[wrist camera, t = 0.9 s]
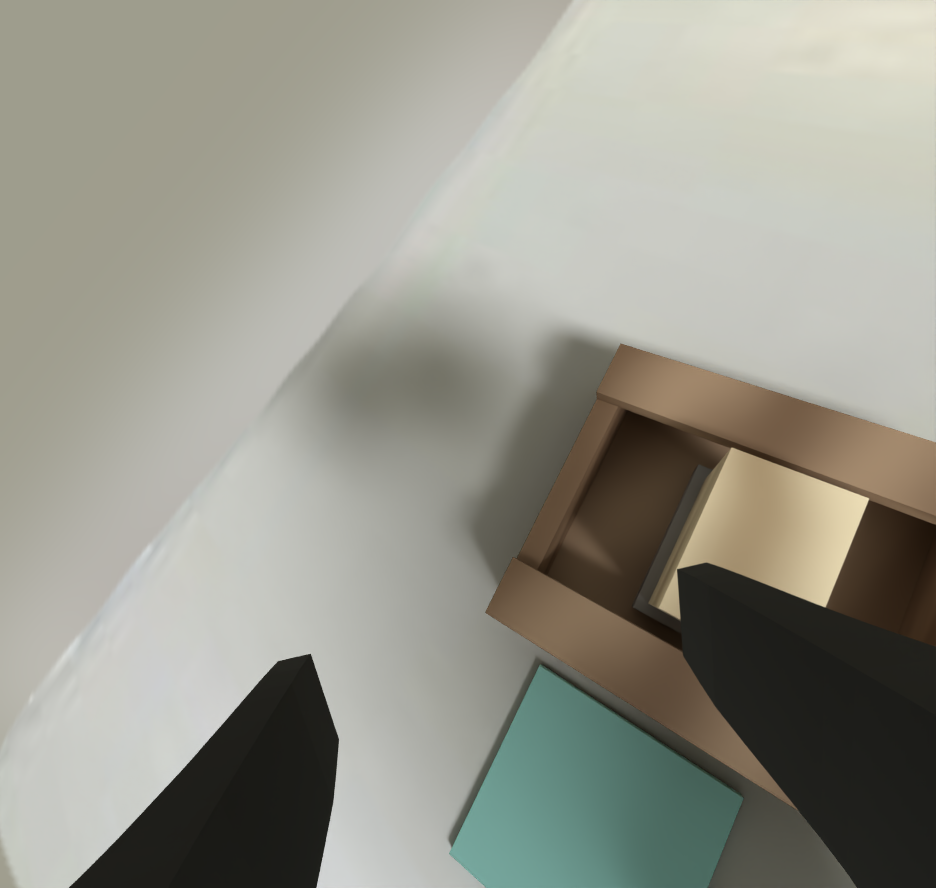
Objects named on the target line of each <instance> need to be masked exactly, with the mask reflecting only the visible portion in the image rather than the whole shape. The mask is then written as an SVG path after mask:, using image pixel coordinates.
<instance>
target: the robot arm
mask: <svg viewBox="0 0 936 888" xmlns="http://www.w3.org/2000/svg"><path fill="white" fill-rule="evenodd" d="M677 577H678V591H679V605H680V619H681V633H682V648H683V657H684V658H685V660H686V661H687V663H688V665H689V666H690V668H691V670H692V671H693V673H694V674H695V676H696V678H697V679H698V681H699V683H700V684H701V686H702V687H703V689H704V690H705V692H706V693H707V695H708V696H709V698H710V699H711V701H712V702H713V704H714V706H715V707H716V708H717V710H718V711H719V712H720V713H721V715H722V716H723V717H724V719H725V720H726V721H727V722H728V724H729V725H730V726H731V727H732V729H733V730H734V731H735V732H736V734H737V735H738V736H739V737H740V739H741V740H742V741H743V742H744V744H745V745H746V746H747V747H748V749H749V750H750V751H751V752H752V754H753V755H754V756H755V757H756V759H757V760H758V761H759V762H760V764H761V765H762V766H763V767H764V769H765V770H766V771H767V772H768V773H769V775H770V776H771V777H772V778H773V780H774V781H775V782H776V783H777V785H778V786H779V787H780V788H781V790H782V791H783V792H784V793H785V795H786V796H787V797H788V798H789V799H790V801H791V802H792V803H793V804H794V806H795V807H796V808H797V809H798V811H799V812H800V813H801V814H802V816H803V817H804V818H805V819H806V821H807V822H808V823H809V824H810V825H811V827H812V828H813V829H814V830H815V832H816V833H817V834H818V835H819V837H820V838H821V839H822V841H823V842H824V843H825V845H826V846H827V847H828V848H829V850H830V851H831V852H832V854H833V855H834V856H835V858H836V859H837V860H838V862H839V863H840V864H841V866H842V867H843V868H844V870H845V871H846V872H847V874H848V875H849V876H850V878H851V879H852V881H853V882H854V884H855V885H856V887H857V888H936V646H933V645H930V644H927V643H924V642H921V641H918V640H915V639H912V638H909V637H906V636H903V635H900V634H897V633H894V632H892V631H889V630H886V629H883V628H880V627H877V626H874V625H871V624H869V623H866V622H863V621H860V620H858V619H855V618H852V617H849V616H847V615H844V614H841V613H839V612H836V611H833V610H831V609H828V608H825V607H823V606H820V605H818V604H815V603H812V602H810V601H807V600H805V599H802V598H800V597H797V596H794V595H792V594H789V593H787V592H784V591H782V590H779V589H777V588H774V587H772V586H769V585H767V584H764V583H761V582H759V581H756V580H754V579H751V578H749V577H746V576H744V575H741V574H738V573H736V572H733V571H730V570H728V569H725V568H722V567H719V566H716V565H713V564H710V563H707V562H706V563H702V564H697V565H693V566H689V567H684V568H680V569H677ZM338 744H339V738H338V735H337V732H336V729H335V726H334V723H333V720H332V717H331V714H330V711H329V708H328V705H327V702H326V699H325V696H324V693H323V690H322V687H321V684H320V681H319V678H318V675H317V672H316V669H315V666H314V663H313V660H312V656H311V654H308V655H303V656H299V657H295V658H290V659H286V660H282V661H278V662H277V663H276V664H275V665H274V666H273V667H272V668H271V669H270V670H269V672H268V673H267V674H266V675H265V676H264V677H263V678H262V679H261V680H260V682H259V683H258V684H257V685H256V686H255V687H254V689H253V690H252V691H251V692H250V693H249V694H248V695H247V697H246V698H245V699H244V700H243V701H242V702H241V704H240V705H239V706H238V707H237V708H236V709H235V711H234V712H233V713H232V714H231V715H230V716H229V717H228V719H227V720H226V721H225V722H224V723H223V724H222V726H221V727H220V728H219V729H218V730H217V731H216V732H215V733H214V735H213V736H212V737H211V738H210V739H209V740H208V741H207V743H206V744H205V745H204V746H203V747H202V748H201V749H200V751H199V752H198V753H197V754H196V755H195V756H194V757H193V759H192V760H191V761H190V762H189V763H188V764H187V765H186V766H185V768H184V769H183V770H182V771H181V772H180V773H179V774H178V775H177V776H176V777H175V778H174V779H173V780H172V782H171V783H170V784H169V785H168V786H167V787H166V788H165V789H164V790H163V791H162V792H161V793H160V794H159V795H158V797H157V798H156V799H155V800H154V801H153V802H152V803H151V804H150V805H149V806H148V807H147V808H146V809H145V810H144V812H143V813H142V814H141V815H140V816H139V817H138V818H137V819H136V820H135V821H134V822H133V823H132V824H131V825H130V827H129V828H128V829H127V830H126V831H125V832H124V833H123V834H122V835H121V836H120V837H119V838H118V839H117V840H116V841H115V842H114V843H113V844H112V845H111V846H110V847H109V848H108V849H107V851H106V852H105V853H104V854H103V855H102V856H101V857H100V858H99V859H98V860H97V861H96V862H95V863H94V864H93V865H92V866H91V867H90V868H89V869H88V870H87V871H86V872H85V873H84V874H83V875H82V876H81V877H80V878H79V879H78V880H77V881H75V882H74V883H73V884H72V885H71V886H70V887H69V888H316V887H317V882H318V877H319V872H320V867H321V862H322V857H323V852H324V847H325V842H326V837H327V832H328V827H329V822H330V816H331V811H332V806H333V799H334V789H335V780H336V769H337V757H338Z"/></svg>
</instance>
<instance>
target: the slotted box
mask: <svg viewBox="0 0 936 888" xmlns="http://www.w3.org/2000/svg"><path fill="white" fill-rule="evenodd" d="M596 393H597V400H596V402H595V404H594V406H593V408H592V410H591V412H590V414H589V416H588V418H587V420H586V422H585V424H584V426H583V428H582V430H581V432H580V434H579V436H578V438H577V440H576V442H575V444H574V446H573V447H572V449H571V451H570V453H569V455H568V457H567V459H566V461H565V463H564V465H563V467H562V469H561V471H560V473H559V475H558V477H557V479H556V481H555V483H554V485H553V487H552V489H551V491H550V493H549V495H548V497H547V499H546V501H545V503H544V505H543V507H542V509H541V511H540V513H539V515H538V517H537V519H536V521H535V523H534V525H533V527H532V529H531V531H530V533H529V535H528V537H527V539H526V541H525V543H524V545H523V547H522V549H521V551H520V553H519V555H518V557H517V558H514V557H513V558H512V560H511V562H510V564H509V566H508V568H507V570H506V572H505V574H504V576H503V578H502V580H501V582H500V584H499V586H498V588H497V590H496V592H495V594H494V596H493V598H492V600H491V602H490V604H489V606H488V608H487V610H486V612H485V613H487V614H488V615H490V616H491V617H493V618H494V619H496V620H498V621H499V622H501V623H502V624H504V625H506V626H507V627H509V628H510V629H512V630H513V631H515V632H517V633H518V634H520V635H521V636H523V637H524V638H526V639H528V640H529V641H531V642H532V643H534V644H536V645H537V646H539V647H540V648H542V649H543V650H545V651H547V652H548V653H550V654H551V655H553V656H554V657H556V658H558V659H559V660H561V661H562V662H564V663H566V664H567V665H569V666H570V667H572V668H573V669H575V670H577V671H578V672H580V673H581V674H583V675H584V676H586V677H588V678H589V679H591V680H592V681H594V682H596V683H597V684H599V685H600V686H602V687H603V688H605V689H607V690H608V691H610V692H611V693H613V694H614V695H616V696H618V697H619V698H621V699H622V700H624V701H626V702H627V703H629V704H630V705H632V706H633V707H635V708H637V709H638V710H640V711H641V712H643V713H644V714H646V715H648V716H649V717H651V718H652V719H654V720H656V721H657V722H659V723H660V724H662V725H663V726H665V727H667V728H668V729H670V730H671V731H673V732H674V733H676V734H678V735H679V736H681V737H682V738H684V739H686V740H687V741H689V742H690V743H692V744H693V745H695V746H697V747H698V748H700V749H701V750H703V751H704V752H706V753H708V754H709V755H711V756H712V757H714V758H716V759H717V760H719V761H720V762H722V763H723V764H725V765H727V766H728V767H730V768H731V769H733V770H735V771H736V772H738V773H739V774H741V775H742V776H744V777H746V778H747V779H749V780H750V781H752V782H753V783H755V784H757V785H758V786H760V787H761V788H763V789H765V790H766V791H768V792H769V793H771V794H772V795H774V796H776V797H777V798H779V799H780V800H782V801H783V802H785V803H787V804H788V805H790V806H791V807H793V808H795V809H796V810H798V809H797V808H796V807H795V806H794V804H793V803H792V802H791V801H790V799H789V798H788V797H787V796H786V795H785V793H784V792H783V791H782V790H781V788H780V787H779V786H778V785H777V783H776V782H775V781H774V780H773V778H772V777H771V776H770V775H769V773H768V772H767V771H766V770H765V769H764V767H763V766H762V765H761V764H760V762H759V761H758V760H757V759H756V757H755V756H754V755H753V754H752V752H751V751H750V750H749V749H748V747H747V746H746V745H745V744H744V742H743V741H742V740H741V739H740V737H739V736H738V735H737V734H736V732H735V731H734V730H733V729H732V727H731V726H730V725H729V724H728V722H727V721H726V720H725V719H724V717H723V716H722V715H721V713H720V712H719V711H718V710H717V708H716V707H715V706H714V704H713V702H712V701H711V699H710V698H709V696H708V695H707V693H706V692H705V690H704V689H703V687H702V686H701V684H700V683H699V681H698V679H697V678H696V676H695V674H694V673H693V671H692V670H691V668H690V666H689V665H688V663H687V661H686V660H685V658H684V657H683V648H682V633H681V621H680V620H678V619H676V618H674V617H673V616H671V615H669V614H667V613H665V612H663V611H661V610H659V609H658V608H656V607H654V606H652V605H650V604H648V603H649V601H650V598H651V596H652V594H653V592H654V590H655V588H656V585H657V583H658V581H659V579H660V577H661V574H662V572H663V570H664V568H665V566H666V563H667V561H668V559H669V557H670V555H671V553H672V550H673V548H674V546H675V544H676V542H677V539H678V537H679V535H680V533H681V531H682V528H683V526H684V524H685V522H686V520H687V518H688V515H689V513H690V511H691V509H692V507H693V504H694V502H695V500H696V498H697V496H698V493H699V491H700V489H701V487H702V485H703V483H704V480H705V479H706V478H707V476H708V475H709V474H710V473H711V472H712V470H713V469H714V468H715V467H716V466H717V464H718V463H719V462H720V461H721V460H722V458H723V457H724V456H725V455H726V454H727V452H728V451H729V450H730V449H731V448H735V449H737V450H740V451H743V452H745V453H748V454H751V455H753V456H756V457H759V458H762V459H764V460H767V461H770V462H772V463H775V464H778V465H780V466H783V467H786V468H788V469H791V470H794V471H797V472H799V473H802V474H805V475H807V476H810V477H813V478H815V479H818V480H821V481H824V482H826V483H829V484H832V485H834V486H837V487H840V488H842V489H845V490H848V491H850V492H853V493H856V494H859V495H861V496H864V497H867V498H869V500H868V503H867V505H866V508H865V510H864V513H863V515H862V518H861V520H860V523H859V525H858V528H857V530H856V533H855V535H854V538H853V540H852V543H851V545H850V548H849V550H848V553H847V555H846V558H845V560H844V563H843V565H842V568H841V570H840V573H839V575H838V577H837V580H836V582H835V585H834V587H833V590H832V592H831V595H830V597H829V600H828V602H827V605H826V607H825V608H828V609H831V610H833V611H836V612H839V613H841V614H844V615H847V616H849V617H852V618H855V619H858V620H860V621H863V622H866V623H869V624H871V625H874V626H877V627H880V628H883V629H886V630H889V631H892V632H894V633H897V634H900V635H903V636H906V637H909V638H912V639H915V640H918V641H921V642H924V643H927V644H930V645H933V646H936V443H935V442H932V441H929V440H926V439H923V438H920V437H916V436H913V435H910V434H907V433H904V432H900V431H897V430H894V429H891V428H888V427H885V426H881V425H878V424H875V423H872V422H869V421H865V420H862V419H859V418H856V417H853V416H850V415H846V414H843V413H840V412H837V411H834V410H830V409H827V408H824V407H821V406H818V405H815V404H811V403H808V402H805V401H802V400H799V399H795V398H792V397H789V396H786V395H783V394H780V393H776V392H773V391H770V390H767V389H764V388H760V387H757V386H754V385H751V384H748V383H745V382H741V381H738V380H735V379H732V378H729V377H725V376H722V375H719V374H716V373H713V372H710V371H706V370H703V369H700V368H697V367H694V366H690V365H687V364H684V363H681V362H678V361H675V360H671V359H668V358H665V357H662V356H659V355H655V354H652V353H649V352H646V351H643V350H640V349H636V348H633V347H630V346H627V345H624V344H620V346H619V348H618V350H617V352H616V354H615V356H614V358H613V360H612V362H611V364H610V366H609V368H608V370H607V372H606V374H605V376H604V378H603V380H602V382H601V384H600V386H599V388H598V390H597V392H596Z"/></svg>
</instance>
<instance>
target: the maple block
mask: <svg viewBox="0 0 936 888" xmlns="http://www.w3.org/2000/svg"><path fill="white" fill-rule="evenodd" d="M868 500H869V498H867V497H864V496H861V495H859V494H856V493H853V492H850V491H848V490H845V489H842V488H840V487H837V486H834V485H832V484H829V483H826V482H824V481H821V480H818V479H815V478H813V477H810V476H807V475H805V474H802V473H799V472H797V471H794V470H791V469H788V468H786V467H783V466H780V465H778V464H775V463H772V462H770V461H767V460H764V459H762V458H759V457H756V456H753V455H751V454H748V453H745V452H743V451H740V450H737V449H735V448H731V449H730V450H729V451H728V452H727V454H726V455H725V456H724V457H723V458H722V460H721V461H720V462H719V463H718V464H717V466H716V467H715V468H714V469H713V470H712V472H711V473H710V474H709V475H708V476H707V478H706V479H705V480H704V483H703V485H702V487H701V489H700V491H699V493H698V496H697V498H696V500H695V502H694V504H693V507H692V509H691V511H690V513H689V515H688V518H687V520H686V522H685V524H684V526H683V528H682V531H681V533H680V535H679V537H678V539H677V542H676V544H675V546H674V548H673V550H672V553H671V555H670V557H669V559H668V561H667V563H666V566H665V568H664V570H663V572H662V574H661V577H660V579H659V581H658V583H657V585H656V588H655V590H654V592H653V594H652V596H651V598H650V601H649V603H648V604H650V605H652V606H654V607H656V608H658V609H659V610H661V611H663V612H665V613H667V614H669V615H671V616H673V617H674V618H676V619H678V620H680V621H681V619H680V605H679V591H678V577H677V569H680V568H684V567H689V566H693V565H697V564H702V563H706V562H707V563H710V564H713V565H716V566H719V567H722V568H725V569H728V570H730V571H733V572H736V573H738V574H741V575H744V576H746V577H749V578H751V579H754V580H756V581H759V582H761V583H764V584H767V585H769V586H772V587H774V588H777V589H779V590H782V591H784V592H787V593H789V594H792V595H794V596H797V597H800V598H802V599H805V600H807V601H810V602H812V603H815V604H818V605H820V606H823V607H826V605H827V602H828V600H829V597H830V595H831V592H832V590H833V587H834V585H835V582H836V580H837V577H838V575H839V573H840V570H841V568H842V565H843V563H844V560H845V558H846V555H847V553H848V550H849V548H850V545H851V543H852V540H853V538H854V535H855V533H856V530H857V528H858V525H859V523H860V520H861V518H862V515H863V513H864V510H865V508H866V505H867V503H868Z"/></svg>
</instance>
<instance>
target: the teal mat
mask: <svg viewBox="0 0 936 888" xmlns="http://www.w3.org/2000/svg"><path fill="white" fill-rule="evenodd" d="M743 799H744V798H743V797H742V795H741V794H740V793H738V792H737V791H735V790H734V789H732V788H731V787H729V786H728V785H726V784H725V783H723V782H722V781H720V780H718V779H717V778H715V777H714V776H712V775H711V774H709V773H708V772H706V771H705V770H703V769H702V768H700V767H698V766H697V765H695V764H694V763H692V762H691V761H689V760H688V759H686V758H685V757H683V756H682V755H680V754H678V753H677V752H675V751H674V750H672V749H671V748H669V747H668V746H666V745H665V744H663V743H661V742H660V741H658V740H657V739H655V738H654V737H652V736H651V735H649V734H648V733H646V732H645V731H643V730H641V729H640V728H638V727H637V726H635V725H634V724H632V723H631V722H629V721H628V720H626V719H625V718H623V717H621V716H620V715H618V714H617V713H615V712H614V711H612V710H611V709H609V708H608V707H606V706H605V705H603V704H601V703H600V702H598V701H597V700H595V699H594V698H592V697H591V696H589V695H588V694H586V693H585V692H583V691H581V690H580V689H578V688H577V687H575V686H574V685H572V684H571V683H569V682H568V681H566V680H564V679H563V678H561V677H560V676H558V675H557V674H555V673H554V672H552V671H551V670H549V669H548V668H546V667H544V666H543V665H541V664H540V665H539V668H538V670H537V672H536V674H535V676H534V678H533V680H532V682H531V684H530V686H529V688H528V690H527V693H526V695H525V697H524V699H523V701H522V703H521V705H520V707H519V709H518V711H517V713H516V715H515V718H514V720H513V722H512V724H511V726H510V728H509V730H508V732H507V734H506V736H505V738H504V740H503V743H502V745H501V747H500V749H499V751H498V753H497V755H496V757H495V759H494V761H493V763H492V765H491V768H490V770H489V772H488V774H487V776H486V778H485V780H484V782H483V784H482V786H481V788H480V790H479V793H478V795H477V797H476V799H475V801H474V803H473V805H472V807H471V809H470V811H469V813H468V815H467V818H466V820H465V822H464V824H463V826H462V828H461V830H460V832H459V834H458V836H457V838H456V840H455V843H454V845H453V847H452V849H451V851H450V853H449V854H450V855H451V856H452V857H453V858H454V859H455V860H457V861H458V862H459V863H460V864H461V865H462V866H463V867H464V868H465V869H466V870H467V871H469V872H470V873H471V874H472V875H473V876H474V877H475V878H476V879H477V880H478V881H479V882H481V883H482V884H483V885H484V886H485V887H486V888H708V886H709V883H710V881H711V878H712V876H713V873H714V871H715V868H716V866H717V863H718V861H719V858H720V856H721V853H722V851H723V848H724V846H725V843H726V841H727V838H728V836H729V833H730V831H731V828H732V826H733V823H734V821H735V819H736V816H737V814H738V811H739V809H740V806H741V804H742V801H743Z"/></svg>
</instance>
